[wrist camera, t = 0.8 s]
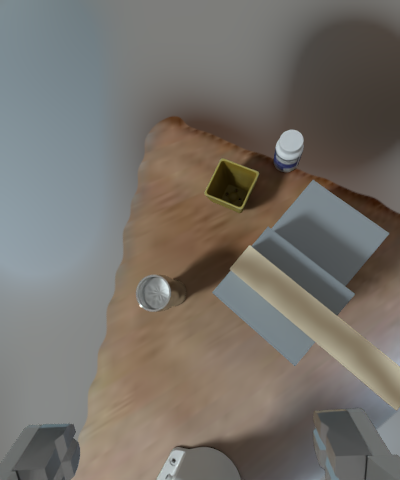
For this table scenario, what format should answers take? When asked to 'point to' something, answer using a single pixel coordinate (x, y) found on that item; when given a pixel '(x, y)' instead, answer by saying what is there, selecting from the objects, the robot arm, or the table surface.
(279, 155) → the pill bottle
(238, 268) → the wooden rod
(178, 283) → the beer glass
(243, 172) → the flower pot
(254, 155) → the table surface
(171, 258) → the table surface
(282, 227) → the stepped shelf
